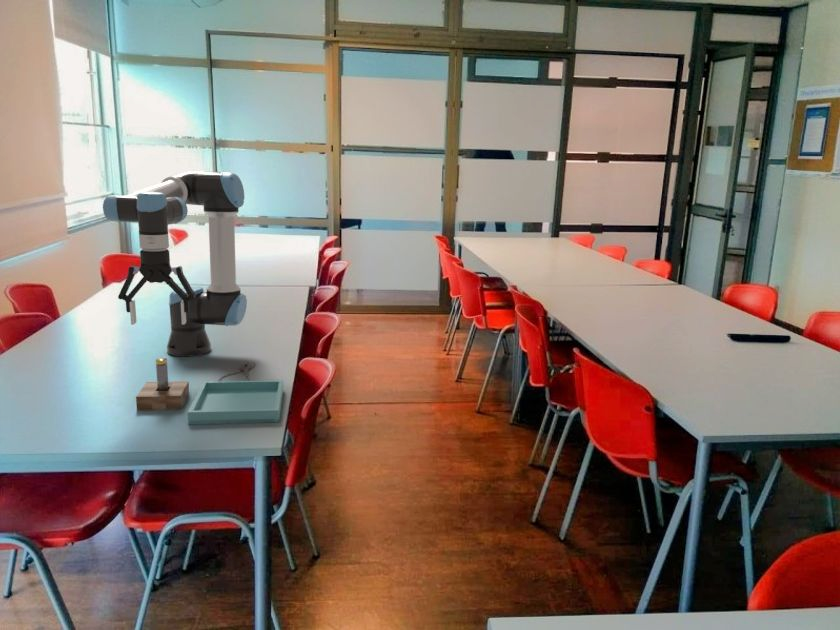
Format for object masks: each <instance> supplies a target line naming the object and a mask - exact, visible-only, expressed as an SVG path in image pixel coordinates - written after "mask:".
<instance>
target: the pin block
mask: <svg viewBox="0 0 840 630" xmlns="http://www.w3.org/2000/svg"><path fill="white" fill-rule="evenodd" d="M168 385H169V391H158V387H157V381H147V382H145V384H144V385H143V387H142V388H141V389H140V391H139V392H138V393H137V395H136V396H135V400H136V401H135V402H136V411H145V410H146V411H148V410H149V411H151V410H153V411H156V410H161V411H162V410H182V408H183V407H184V404H185V402H186V401H187V399H188V398H189V395H190V381H188V380H187V381H186V380H185V381H168Z"/></svg>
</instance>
